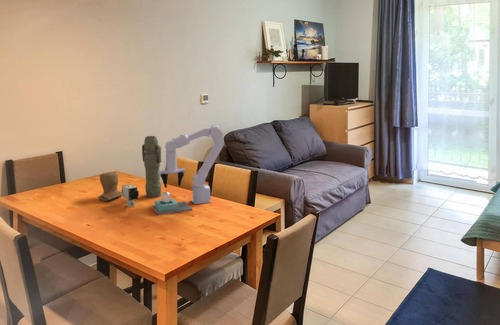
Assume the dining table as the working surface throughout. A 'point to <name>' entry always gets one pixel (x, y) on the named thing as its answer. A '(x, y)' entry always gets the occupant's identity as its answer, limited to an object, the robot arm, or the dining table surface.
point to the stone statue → (152, 166)
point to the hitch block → (170, 207)
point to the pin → (166, 197)
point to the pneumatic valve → (130, 194)
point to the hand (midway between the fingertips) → (172, 186)
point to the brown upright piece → (109, 186)
